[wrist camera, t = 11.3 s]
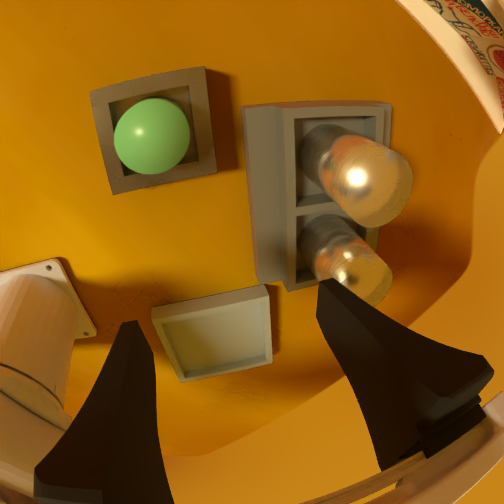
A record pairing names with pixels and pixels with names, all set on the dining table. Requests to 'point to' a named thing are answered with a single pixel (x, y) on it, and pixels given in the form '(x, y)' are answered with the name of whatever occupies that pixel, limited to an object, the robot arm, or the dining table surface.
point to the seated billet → (356, 173)
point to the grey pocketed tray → (296, 179)
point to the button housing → (159, 85)
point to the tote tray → (216, 333)
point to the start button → (152, 135)
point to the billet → (344, 258)
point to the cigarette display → (469, 44)
